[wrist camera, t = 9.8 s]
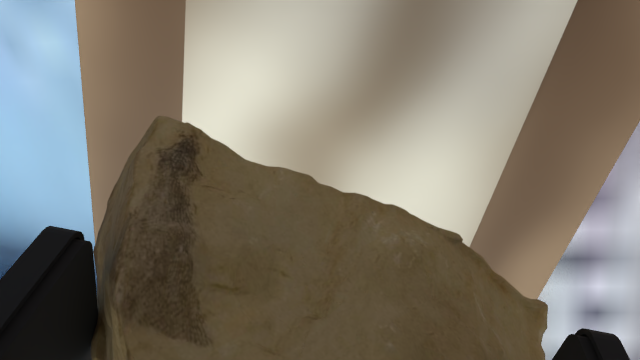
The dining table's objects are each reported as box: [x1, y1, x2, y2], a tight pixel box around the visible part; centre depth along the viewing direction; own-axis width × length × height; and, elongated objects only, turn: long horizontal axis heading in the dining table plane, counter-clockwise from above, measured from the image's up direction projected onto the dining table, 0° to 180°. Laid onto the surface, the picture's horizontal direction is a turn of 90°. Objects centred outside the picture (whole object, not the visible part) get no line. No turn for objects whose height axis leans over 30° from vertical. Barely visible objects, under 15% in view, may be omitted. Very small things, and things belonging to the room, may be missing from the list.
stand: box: [75, 0, 640, 299], centre depth 19 cm, size 18×18×4 cm
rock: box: [91, 116, 548, 360], centre depth 10 cm, size 11×9×10 cm
